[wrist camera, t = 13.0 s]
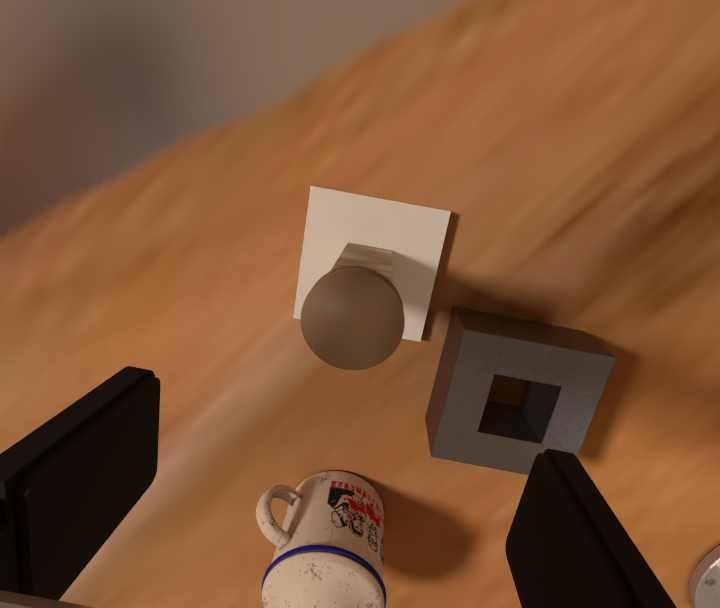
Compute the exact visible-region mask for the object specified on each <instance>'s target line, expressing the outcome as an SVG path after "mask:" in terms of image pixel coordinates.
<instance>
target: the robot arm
mask: <svg viewBox="0 0 720 608" xmlns="http://www.w3.org/2000/svg"><path fill="white" fill-rule="evenodd" d="M159 406H160V380H159V379H158V378H156V377H155V375H154V372H153V371H151V370H146V369H141V368H136V367H131V366H127V367H125V368H124V369H122V370H121V371H119V372H118V373H116V374H115V375H113V376H112V377H111V378H109V379H108V380H106V381H105V382H103V383H102V384H101V385H99V386H98V387H96V388H95V389H93V390H92V391H90V392H89V393H88V394H86V395H85V396H83V397H82V398H80V399H79V400H78V401H76V402H75V403H73V404H72V405H70V406H69V407H67V408H66V409H65V410H63V411H62V412H60V413H59V414H57V415H56V416H55V417H53V418H52V419H50V420H49V421H47V422H46V423H44V424H43V425H42V426H40V427H39V428H37V429H36V430H34V431H33V432H32V433H30V434H29V435H27V436H26V437H24V438H23V439H21V440H20V441H19V442H17V443H16V444H14V445H13V446H11V447H10V448H9V449H7V450H6V451H4V452H3V453H1V454H0V608H94V607H89V606H84V605H79V604H74V603H68V602H63V601H58V600H59V599H60V598H61V597H62V595H63V594H64V593H65V592H66V590H67V589H68V588H69V587H70V585H71V584H72V583H73V582H74V580H75V579H76V578H77V577H78V575H79V574H80V573H81V572H82V570H83V569H84V568H85V567H86V565H87V564H88V563H89V562H90V560H91V559H92V558H93V557H94V555H95V554H96V553H97V552H98V550H99V549H100V548H101V547H102V545H103V544H104V543H105V541H106V540H107V539H108V538H109V536H110V535H111V534H112V533H113V531H114V530H115V529H116V528H117V526H118V525H119V524H120V523H121V521H122V520H123V519H124V518H125V516H126V515H127V514H128V513H129V511H130V510H131V509H132V508H133V506H134V505H135V504H136V503H137V501H138V500H139V499H140V498H141V496H142V495H143V494H144V493H145V491H146V490H147V489H148V488H149V486H150V485H151V484H152V482H153V480H154V478H155V475H156V472H157V460H158V433H159ZM506 556H507V560H508V563H509V566H510V570H511V573H512V576H513V580H514V583H515V586H516V590H517V593H518V596H519V599H520V603H521V606H522V608H676V606H675V605H674V603H673V601H672V600H671V598H670V597H669V595H668V594H667V592H666V591H665V589H664V588H663V586H662V585H661V583H660V582H659V580H658V579H657V577H656V576H655V574H654V573H653V571H652V570H651V568H650V567H649V565H648V564H647V562H646V561H645V559H644V558H643V556H642V555H641V553H640V552H639V550H638V549H637V547H636V546H635V544H634V543H633V541H632V540H631V538H630V537H629V535H628V534H627V532H626V531H625V529H624V528H623V526H622V525H621V523H620V522H619V520H618V519H617V517H616V516H615V514H614V513H613V511H612V510H611V508H610V507H609V505H608V504H607V502H606V501H605V499H604V498H603V496H602V495H601V493H600V492H599V490H598V489H597V487H596V486H595V484H594V483H593V481H592V480H591V478H590V477H589V475H588V474H587V472H586V471H585V469H584V468H583V466H582V465H581V463H580V462H579V460H578V459H577V457H576V456H575V455H574V454H573V453H570V452H564V451H559V450H554V449H546V450H545V451H544V453H538V454H537V455H536V457H535V460H534V463H533V465H532V468H531V471H530V474H529V477H528V480H527V482H526V485H525V488H524V491H523V494H522V497H521V499H520V502H519V505H518V508H517V511H516V514H515V516H514V519H513V522H512V525H511V528H510V531H509V534H508V536H507V540H506ZM689 599H690V603H691V605H692V607H693V608H720V545H718V546H717V547H716V548H714V549H713V550H712V551H711V552H709V553H708V554H707V555H706V556H705V557H704V558H703V559H702V560H701V562H700V563H699V564H698V566H697V567H696V569H695V570H694V572H693V574H692V577H691V580H690V583H689Z"/></svg>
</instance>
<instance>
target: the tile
mask: <svg viewBox="0 0 720 608" xmlns="http://www.w3.org/2000/svg"><path fill="white" fill-rule="evenodd" d="M450 214H451V211H448V210H443V209H437V208H432V207H427V206H421V205H416V204H410V203H405V202H399V201H394V200H388V199H383V198H377V197H372V196H367V195H361V194H356V193H350V192H345V191H339V190H334V189H328V188H323V187H317V186H311V189H310V196H309V204H308V211H307V219H306V226H305V234H304V241H303V249H302V256H301V264H300V271H299V279H298V286H297V294H296V301H295V309H294V316H293V318H296V319H301V310H302V306H303V303H304V300H305V299H306V297H307V295H308V293H309V292H310V290H311V289H312V287H313V286H314V285H315V283H316V282H317V281H318V280H319V279H320V278H321V277H322V276H324V275H325V274H327V273H328V272H330V271H331V269H332V267H333V266H334V264H335V263H336V261H337V259H338V258H339V256H340V254H341V253H342V251H343V249H344V248H345V246H346V245H347V243H348V242H350V243H355V244H361V245H366V246H371V247H377V248H382V249H387V250H391V256H392V278H393V285H394V286H395V288H396V289H397V291H398V293H399V295H400V297H401V300H402V304H403V310H404V318H405V326H404V333H403V336H402V338H403V339H409V340H414V341H419V342H420V341H421V337H422V333H423V328H424V324H425V320H426V316H427V311H428V307H429V303H430V299H431V294H432V290H433V286H434V282H435V277H436V273H437V269H438V265H439V260H440V256H441V252H442V248H443V243H444V239H445V235H446V231H447V226H448V222H449V218H450Z"/></svg>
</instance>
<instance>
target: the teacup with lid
mask: <svg viewBox="0 0 720 608" xmlns="http://www.w3.org/2000/svg"><path fill="white" fill-rule="evenodd" d="M273 498H280V499H282V500H284V501H286V502H287V503H289V507H288V510H287V513H286V517H285V520H284V523H283V527H282V528H281V527H280V526H279V525H278V524H277V523H276V521H275V520H274V518H273V516H272V513H271V508H270V507H271V501H272V499H273ZM256 518H257V522H258V525H259V527H260V529H261V531H262V532H263V534H264V535H265V536H266V537H267V539H269V540H270V541H271V542H272V543H273V544H274V545H276V550H275V553H274V556H273V560H272V563H271V565H270V566H269V567H268V569H267V571H266V573H265V575H264V578H263V582H262V600H263V605H264V608H385V606H386V591H385V587H384V584H383V550H384V509H383V504H382V501H381V498H380V496H379V495H378V493H377V492H376V490H375V489H374V488H373V487H372V486H371V485H370V484H369V483H368V482H367V481H365V480H364V479H362V478H360V477H358V476H356V475H354V474H351V473H347V472H342V471H325V472H320V473H317V474H314V475H312V476H310V477H308V478H307V479H305V480H304V481H303V482H301V483H300V484H299V485H298V487H297V488H296V489H295V490H294V489H293V488H291V487H289V486H286V485H276V486H273V487H272V488H270V489H269V490H267V491H266V492H265V493H264V494H263V495H262V496H261V498H260V500H259V502H258V504H257V508H256Z"/></svg>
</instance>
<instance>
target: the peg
mask: <svg viewBox="0 0 720 608" xmlns="http://www.w3.org/2000/svg"><path fill="white" fill-rule="evenodd" d="M404 326H405V318H404V310H403V304H402V300H401V297H400V295H399V293H398V291H397V289H396V288H395V286H394V285H393V278H392V256H391V250H387V249H382V248H377V247H371V246H366V245H361V244H355V243H350V242H348V243H347V245H346V246H345V248H344V249H343V251H342V253H341V254H340V256H339V258H338V259H337V261H336V263H335V264H334V266H333V267H332V269H331V271H330V272H328V273H327V274H325V275H324V276H322V277H321V278H320V279H319V280H318V281H317V282H316V283H315V285H314V286H313V287H312V289H311V290H310V292H309V293H308V295H307V297H306V299H305V300H304V303H303V306H302V310H301V328H302V333H303V336H304V338H305V340H306V342H307V344H308V346H309V347H310V349H311V350H312V351H313V352H314V353H315V354H316V355H317V356H318V357H319V358H320V359H322V360H323V361H325V362H326V363H328V364H330V365H332V366H335V367H337V368H341V369H347V370H361V369H367V368H370V367H373V366H376V365H378V364H380V363H381V362H383V361H384V360H386V359H387V358H388V357H389V356H390V355H392V353H393V352H394V351H395V350H396V348H397V347H398V345H399V343H400V341H401V339H402V336H403V333H404Z"/></svg>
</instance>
